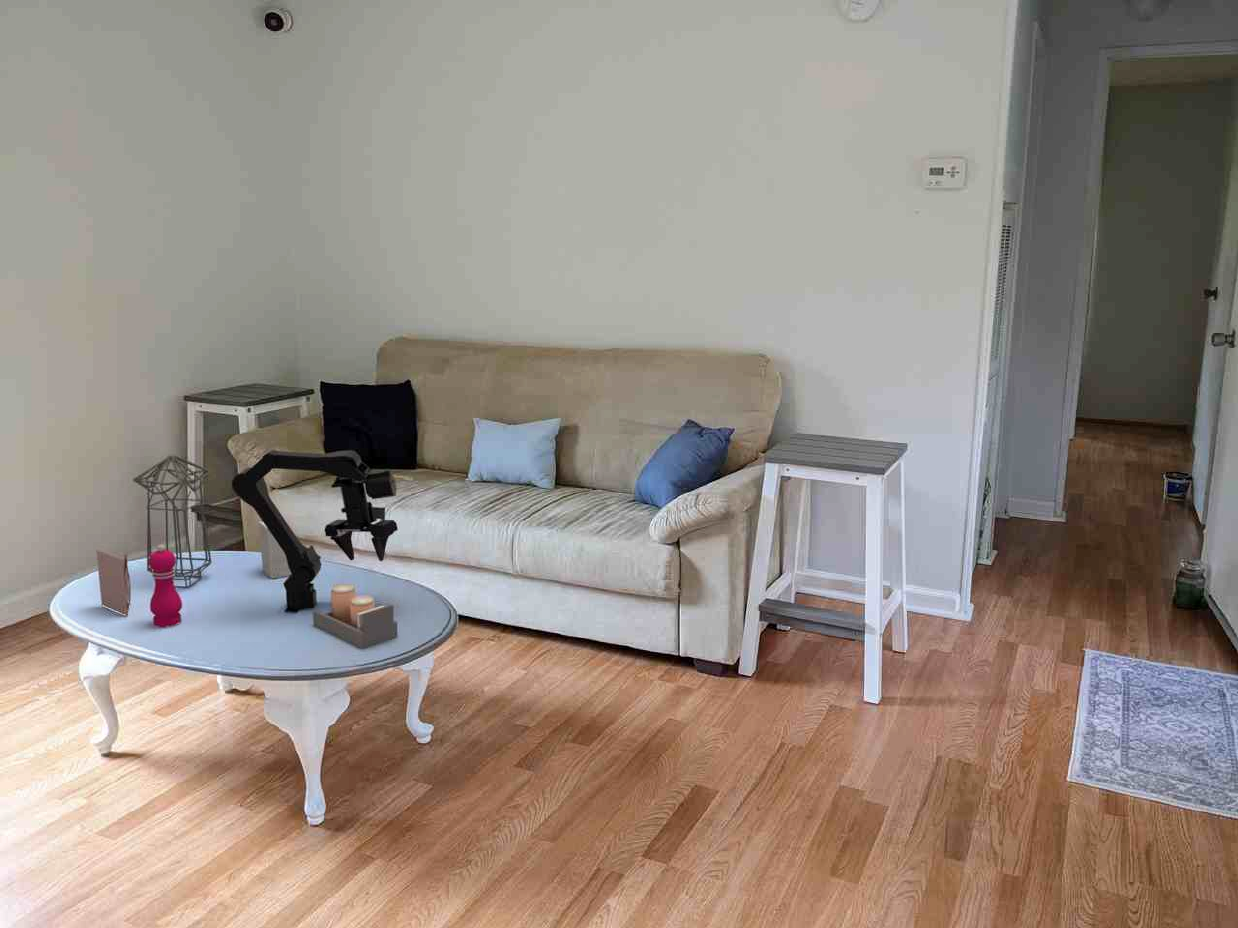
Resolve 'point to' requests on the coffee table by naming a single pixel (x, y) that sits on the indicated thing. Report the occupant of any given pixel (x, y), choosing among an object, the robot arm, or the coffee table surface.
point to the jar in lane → (360, 607)
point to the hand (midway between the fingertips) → (367, 560)
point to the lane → (374, 627)
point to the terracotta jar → (342, 601)
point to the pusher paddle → (360, 618)
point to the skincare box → (272, 554)
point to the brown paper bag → (114, 582)
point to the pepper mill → (164, 589)
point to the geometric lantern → (160, 467)
